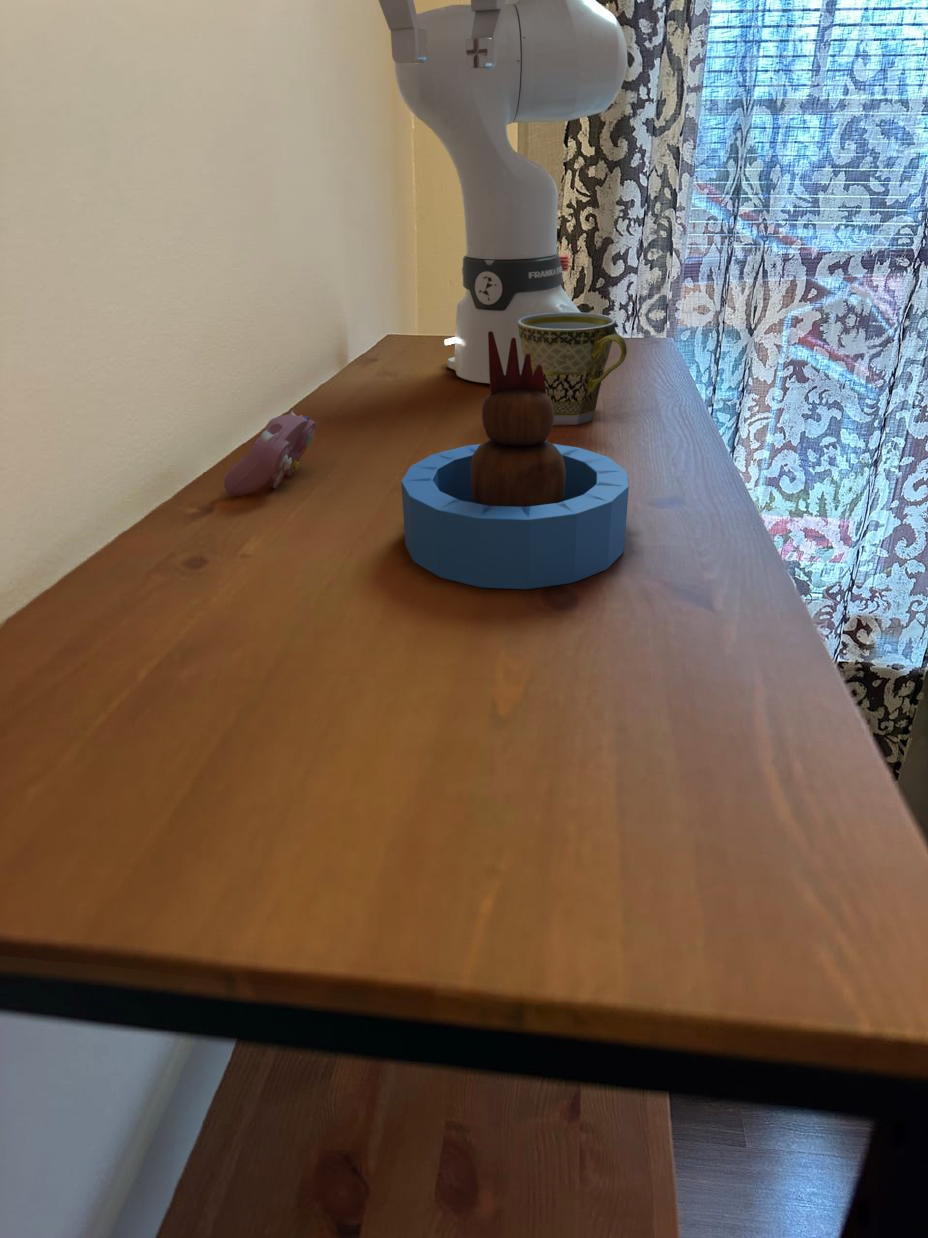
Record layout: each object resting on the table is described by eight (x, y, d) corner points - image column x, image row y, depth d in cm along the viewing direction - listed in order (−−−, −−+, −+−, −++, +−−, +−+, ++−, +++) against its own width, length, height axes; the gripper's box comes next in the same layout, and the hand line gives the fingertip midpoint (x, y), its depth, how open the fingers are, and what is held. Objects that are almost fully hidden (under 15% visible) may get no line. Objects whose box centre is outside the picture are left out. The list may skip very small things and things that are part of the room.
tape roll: (475, 488, 71) (473, 431, 69) (653, 521, 64) (659, 459, 62) (364, 559, 60) (358, 493, 57) (568, 609, 52) (571, 536, 50)
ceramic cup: (498, 416, 91) (498, 320, 86) (562, 399, 96) (565, 308, 91) (586, 442, 82) (591, 337, 77) (651, 422, 87) (659, 322, 82)
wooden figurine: (461, 549, 61) (455, 336, 53) (486, 520, 65) (483, 320, 58) (552, 560, 59) (558, 341, 51) (570, 529, 63) (578, 324, 56)
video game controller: (265, 517, 71) (290, 447, 67) (217, 492, 71) (239, 421, 67) (306, 478, 79) (331, 414, 76) (263, 455, 79) (286, 390, 75)
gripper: (479, -160, 59) (481, 72, 66) (290, -252, 44) (319, 62, 51) (560, -177, 56) (553, 68, 63) (388, -281, 41) (404, 56, 48)
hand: (447, 66), depth 57 cm, fingers open, 8 cm apart
